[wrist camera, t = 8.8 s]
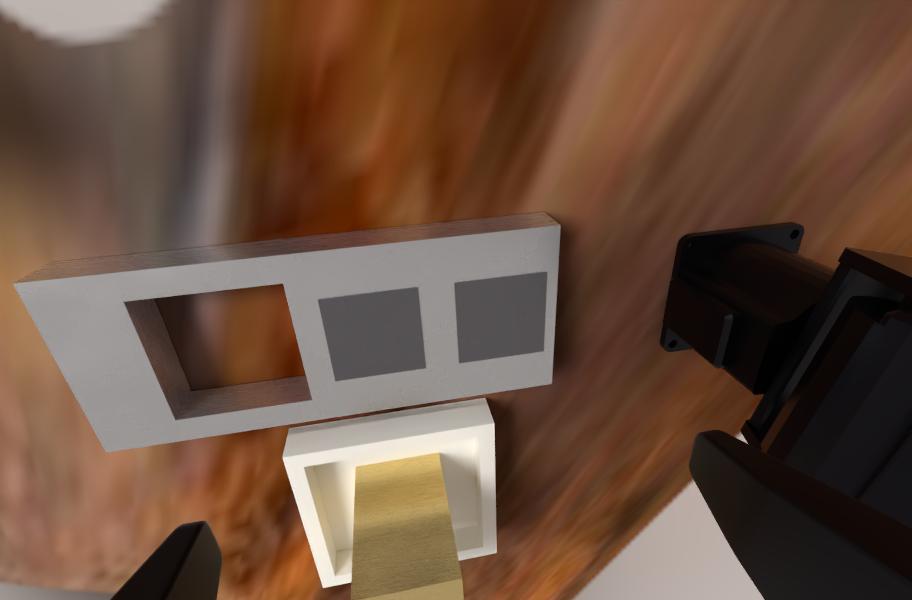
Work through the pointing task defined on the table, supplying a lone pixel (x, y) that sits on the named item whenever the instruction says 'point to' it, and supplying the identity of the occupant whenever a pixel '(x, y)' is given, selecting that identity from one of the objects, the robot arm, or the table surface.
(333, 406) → the grey flat plate
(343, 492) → the tray
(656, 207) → the table surface
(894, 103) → the table surface
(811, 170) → the table surface
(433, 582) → the wood grain block
